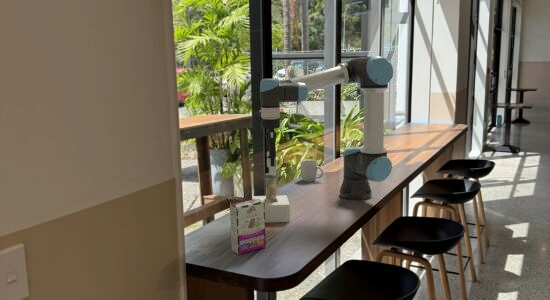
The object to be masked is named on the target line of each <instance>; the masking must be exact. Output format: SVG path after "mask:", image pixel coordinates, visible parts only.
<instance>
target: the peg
mask: <svg viewBox="0 0 550 300" xmlns="http://www.w3.org/2000/svg"><path fill="white" fill-rule="evenodd" d="M265 196H266V202H276V196H277V173H276V174H269V172H265Z"/></svg>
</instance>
